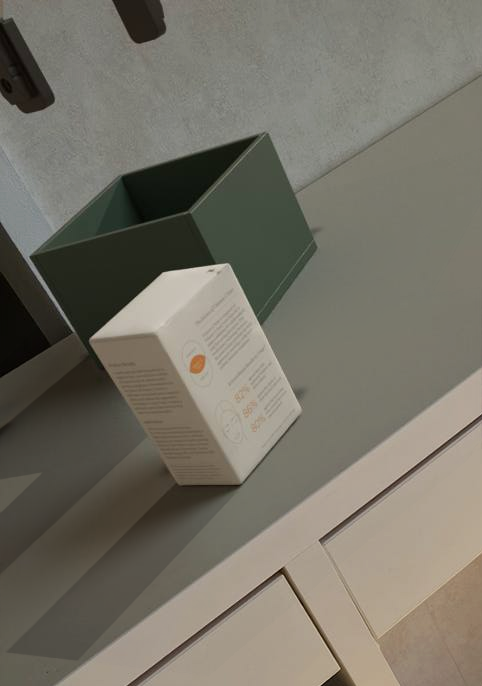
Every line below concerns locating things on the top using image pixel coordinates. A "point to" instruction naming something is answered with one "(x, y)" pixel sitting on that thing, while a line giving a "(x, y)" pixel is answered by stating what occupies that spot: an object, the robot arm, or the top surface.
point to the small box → (199, 375)
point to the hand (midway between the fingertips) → (97, 72)
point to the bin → (180, 233)
